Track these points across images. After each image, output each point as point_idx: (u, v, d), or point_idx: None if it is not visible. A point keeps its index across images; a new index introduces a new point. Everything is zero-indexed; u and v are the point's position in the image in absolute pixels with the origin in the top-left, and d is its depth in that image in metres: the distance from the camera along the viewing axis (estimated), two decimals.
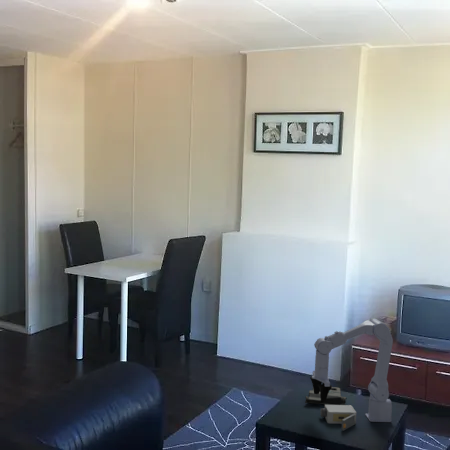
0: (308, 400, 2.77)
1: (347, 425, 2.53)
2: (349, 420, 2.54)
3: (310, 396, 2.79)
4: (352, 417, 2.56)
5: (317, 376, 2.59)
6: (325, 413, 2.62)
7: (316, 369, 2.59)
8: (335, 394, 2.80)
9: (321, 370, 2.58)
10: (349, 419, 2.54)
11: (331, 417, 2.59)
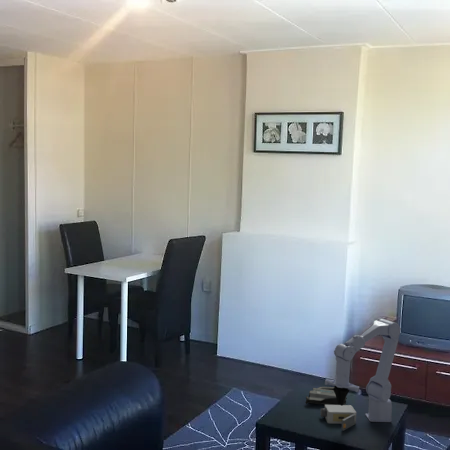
0: (308, 400, 2.77)
1: (347, 425, 2.53)
2: (349, 420, 2.54)
3: (310, 397, 2.79)
4: (352, 417, 2.56)
5: (343, 384, 2.51)
6: (325, 413, 2.62)
7: (342, 377, 2.51)
8: (335, 395, 2.80)
9: (347, 377, 2.51)
10: (349, 419, 2.54)
11: (331, 417, 2.59)
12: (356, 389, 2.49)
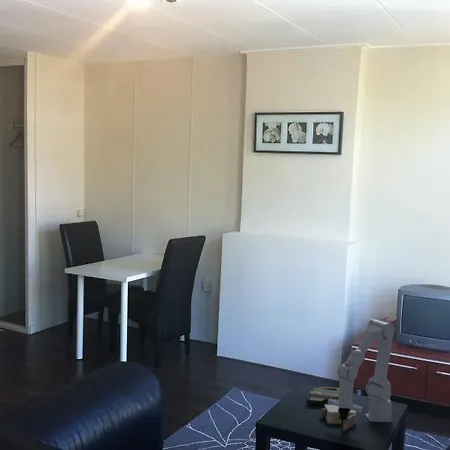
0: (309, 401, 2.76)
1: (348, 426, 2.53)
2: (350, 420, 2.54)
3: (311, 397, 2.78)
4: (352, 417, 2.56)
5: (346, 404, 2.50)
6: (325, 413, 2.62)
7: (345, 397, 2.50)
8: (336, 395, 2.79)
9: (350, 397, 2.51)
10: (350, 419, 2.54)
11: (331, 417, 2.59)
12: (359, 409, 2.49)
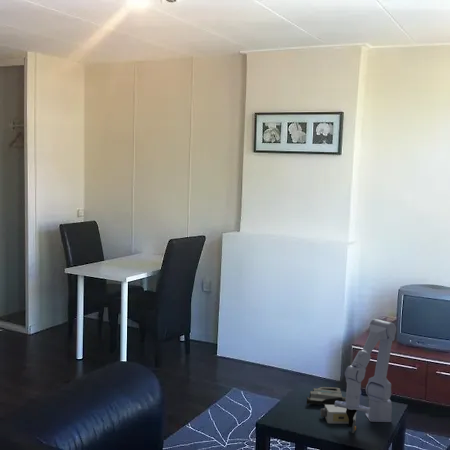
0: (310, 401, 2.76)
1: None
2: None
3: (311, 397, 2.78)
4: (355, 417, 2.56)
5: (354, 406, 2.49)
6: (325, 413, 2.62)
7: (353, 399, 2.49)
8: (336, 395, 2.79)
9: (358, 398, 2.49)
10: (355, 420, 2.53)
11: (331, 417, 2.59)
12: (367, 410, 2.48)
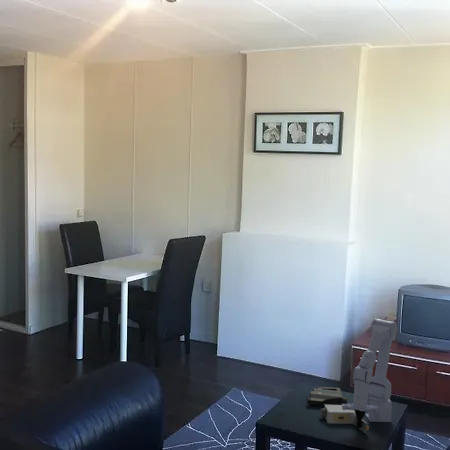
0: (310, 401, 2.76)
1: None
2: None
3: (311, 397, 2.78)
4: None
5: (365, 406, 2.49)
6: (325, 413, 2.62)
7: (363, 400, 2.48)
8: (336, 395, 2.79)
9: (367, 398, 2.50)
10: None
11: (331, 417, 2.59)
12: (376, 409, 2.50)
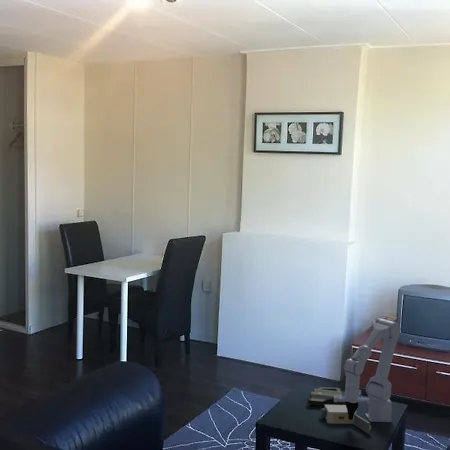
0: (310, 401, 2.75)
1: None
2: None
3: (312, 398, 2.78)
4: None
5: (356, 398, 2.52)
6: (325, 413, 2.62)
7: (355, 392, 2.51)
8: (337, 395, 2.79)
9: (358, 390, 2.53)
10: None
11: (331, 417, 2.59)
12: (368, 401, 2.53)
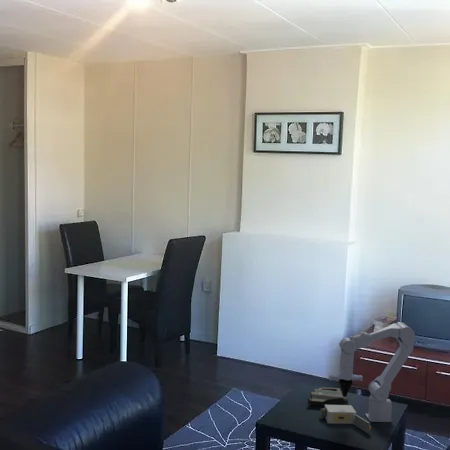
0: (311, 402, 2.75)
1: None
2: None
3: (312, 398, 2.77)
4: None
5: (350, 376, 2.61)
6: (325, 413, 2.62)
7: (349, 370, 2.61)
8: (337, 395, 2.79)
9: (352, 368, 2.62)
10: None
11: (331, 417, 2.59)
12: (361, 378, 2.63)
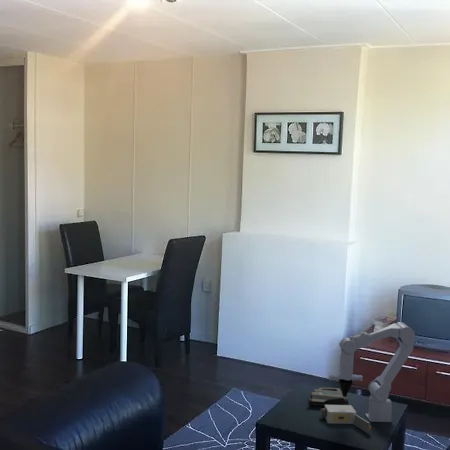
0: (311, 402, 2.75)
1: None
2: None
3: (313, 398, 2.77)
4: None
5: (350, 376, 2.61)
6: (325, 413, 2.62)
7: (349, 370, 2.61)
8: (337, 395, 2.79)
9: (352, 368, 2.62)
10: None
11: (331, 417, 2.59)
12: (361, 378, 2.63)
